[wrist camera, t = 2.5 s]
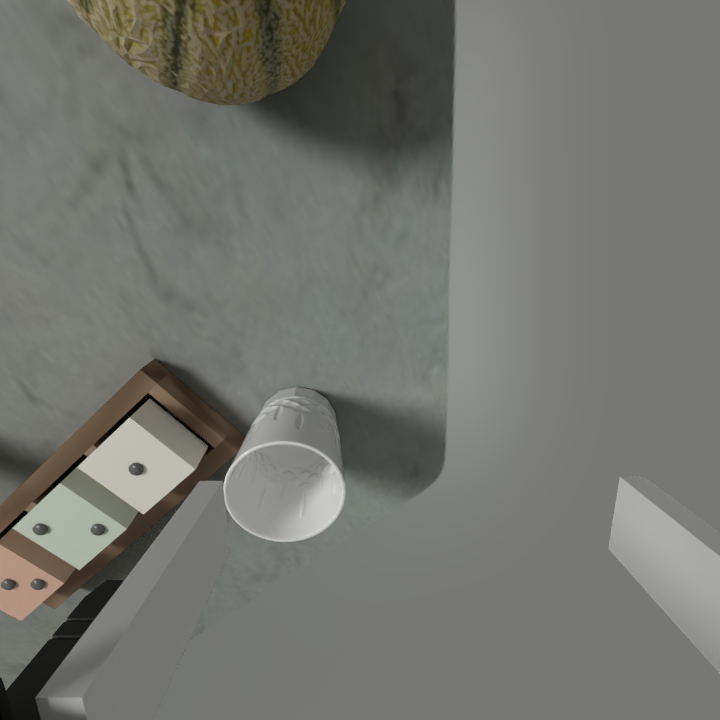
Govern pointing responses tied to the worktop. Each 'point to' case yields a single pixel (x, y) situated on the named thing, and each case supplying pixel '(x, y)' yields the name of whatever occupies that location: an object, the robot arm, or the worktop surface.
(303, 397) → the white cup
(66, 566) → the three-pip tile
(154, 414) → the tile
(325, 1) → the cantaloupe
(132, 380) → the board
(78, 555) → the tile
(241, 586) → the worktop surface
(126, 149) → the worktop surface
